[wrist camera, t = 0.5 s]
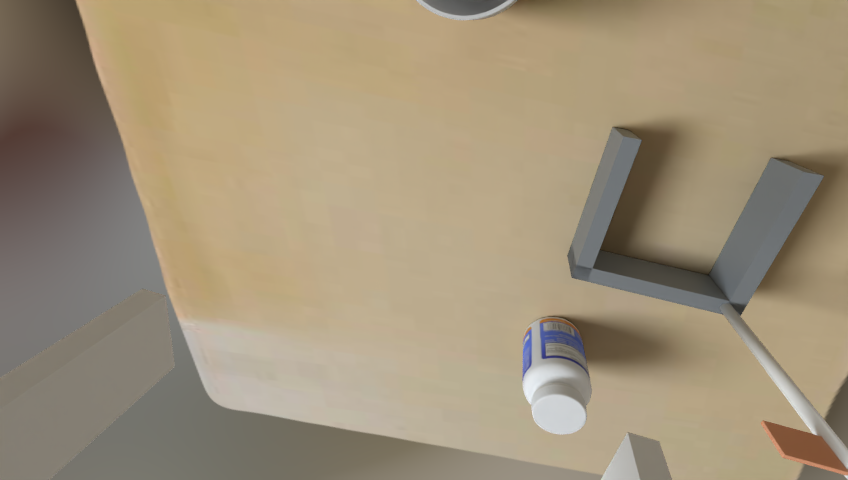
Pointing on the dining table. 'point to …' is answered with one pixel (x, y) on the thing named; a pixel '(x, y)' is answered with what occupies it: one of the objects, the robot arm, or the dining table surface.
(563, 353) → the pill bottle
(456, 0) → the cup
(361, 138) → the dining table surface
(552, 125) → the dining table surface
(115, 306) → the robot arm
